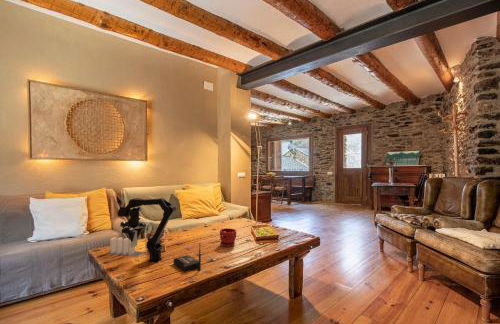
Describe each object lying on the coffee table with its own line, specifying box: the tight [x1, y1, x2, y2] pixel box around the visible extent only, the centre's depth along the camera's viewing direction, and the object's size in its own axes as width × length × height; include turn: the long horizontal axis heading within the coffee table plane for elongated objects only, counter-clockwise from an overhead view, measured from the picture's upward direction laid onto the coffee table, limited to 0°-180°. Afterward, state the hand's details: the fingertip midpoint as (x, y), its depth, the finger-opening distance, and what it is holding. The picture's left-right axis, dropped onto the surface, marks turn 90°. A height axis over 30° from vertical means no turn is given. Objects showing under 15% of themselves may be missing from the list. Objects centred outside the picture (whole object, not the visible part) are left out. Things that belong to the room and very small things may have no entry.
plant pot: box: [219, 228, 237, 247], centre depth 200 cm, size 13×13×12 cm
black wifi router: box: [173, 242, 202, 273], centre depth 158 cm, size 20×14×17 cm
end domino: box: [109, 236, 118, 253], centre depth 182 cm, size 1×5×10 cm, turn 168°
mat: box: [105, 250, 145, 258], centre depth 180 cm, size 25×9×1 cm, turn 78°
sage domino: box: [131, 230, 138, 248], centre depth 169 cm, size 1×5×10 cm, turn 171°
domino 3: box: [128, 239, 136, 255], centre depth 179 cm, size 1×5×10 cm, turn 168°
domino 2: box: [122, 237, 130, 254], centre depth 180 cm, size 1×5×10 cm, turn 168°
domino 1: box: [116, 237, 124, 254], centre depth 181 cm, size 1×5×10 cm, turn 168°
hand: (134, 240), depth 169 cm, fingers closed on sage domino, 5 cm apart
